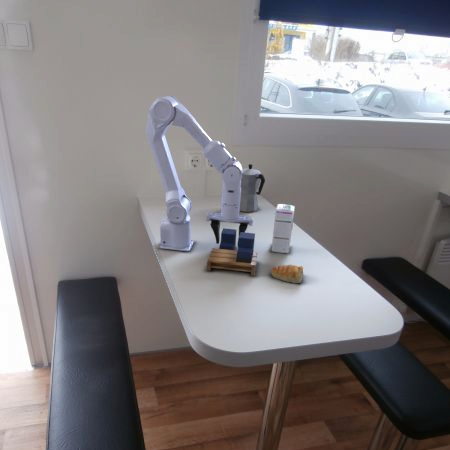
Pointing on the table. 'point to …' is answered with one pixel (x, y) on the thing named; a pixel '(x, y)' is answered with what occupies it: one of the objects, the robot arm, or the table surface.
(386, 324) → the table surface
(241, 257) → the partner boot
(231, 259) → the shoe rack
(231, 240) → the blue block
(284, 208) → the syrup box
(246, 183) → the coffeepot
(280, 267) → the pastry
